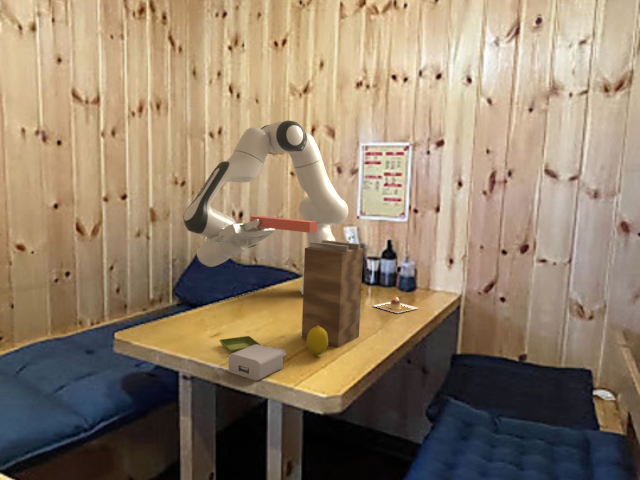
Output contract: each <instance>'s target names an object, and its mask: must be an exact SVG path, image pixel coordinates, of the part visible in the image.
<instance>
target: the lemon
mask: <svg viewBox="0 0 640 480" xmlns="http://www.w3.org/2000/svg"><path fill="white" fill-rule="evenodd" d="M328 346H329V345H328V335H327V332H326V331H325V330H324V329H323V328H321V327H320V326H316V327H314V328H312V329H311V330H310V331H309V333H308V335H307V340H306V347H307V349H308V351H309V352H310V353H312V354H314V356H315V357H318V356H320V355H321V354H323V353H324V352H326V350H327V348H328Z"/></svg>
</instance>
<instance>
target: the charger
mask: <svg viewBox="0 0 640 480" xmlns="http://www.w3.org/2000/svg"><path fill="white" fill-rule="evenodd" d="M286 351H287V349H286V348H284V349H283V348H281V347H276V346H272V347H268V346H265V345H262V344H261V345H258V344H255V345H252V346H250V347H247V348H245V349H242V350H240V351H237V352H235V353H232V354H231V353H230V354H229V355H228V371H229V373H232V374H235V375H237V376H241V377H245V378H246V379H251V380H254V381H261V380H262V379H264V378H265V377H268V376H270V375H272V374H274V373H275V372H279V370H282V369H283V366H284V357H287V352H286Z"/></svg>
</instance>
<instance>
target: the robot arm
mask: <svg viewBox="0 0 640 480" xmlns="http://www.w3.org/2000/svg"><path fill="white" fill-rule="evenodd" d="M235 145H236V146H235V148H234V150H233V152H232V154H231V156H230V157H229V158H228V159H227V160H226V161H221V162H220V163H218V165H216V166H215V168H214V169H213V171H212V172H211V173H210V175H209V176H208V178H207V180H206V181H205V183H204V185H203V186H202V188H201V189H200V191H199V192H198V193H197V195H196V197H195V198H194V200H193V201H192V202H191V203H190V204H189V205H188V206H187V208H186V209H185V212H184V214H183V218H182V219H183V223H184V226H185V228H186V230H187V231H189V232H192V233H194V234H197V235H201V236H203V237H205V238H206V240H205V241H204V243H203V244H202V245H201V246H199V248H198V249H197V251H196V257H197V259H198V261H199V262H200V263H201V264H202V265H204V266H206V267H210V268H212V267H216V266H219V265H220V264H223V263H225V262H226V261H229V260H230V258H231V257H235V256H237V255H239V254H240V253H241V252H244V251H245V250H247V249H250V248H253V247H256V246H258V245H259V244H260V243H259V242H261V241H264V240H265V239H266V238H268V237H269V236H270V235H271V236H272V234H273V233H275V230H276V229H272V228H263V227H256V226H259V225H261V224H262V222H261V220H260V219H255V220H254V221H251V222H250V221H248V222H241V223H237V222H236V220H235V218H233V217H231V216H229V215H227V214H225V213H223V212H222V211H219V210H217V209H215V208H213V207H212V206H211V204H212V203H213V201H214V199H215V197H216V196H217V194H218V193H219V191H220V190H221V188H222V187H223V185H225V184H226V183H229V182H232V183H250V182H252V181H255V179H257V178H258V176H259V175H260V173H261V172H262V168H263V166H264V163H265V161H266V158H267V156H268V154H269V155H271V154H272V155H273V154H274V155H275V154H277V155H278V154H279V155H280V154H284V153H287V154H288V155H289V156H290V158H291V161H292V166H293V169H294V172H295V174H296V177H297V181H298V183H299V186H300V188H301V189H302V190H303V191H304V192H305V193H306V194H307V196H306V197H304V198H302V200H301V201H300V202H299V205H298V213H299V215H300V217H301V218H302V220H307V221H317V232H311V233H308V232H305V233H306V242H307V245H306V246H307V247H306V248H308V247H309V242H318V243H322V240H329V241H336V238H335V236H334V235H333V233H332V230H331V226H337V225H341V224H343V223H345V221H346V220H347V218H348V216H349V206H348V204H347V202H346V201H345V200H344V199H342V197H340V195H339V194H338V192H337V191H336V189H335V187H334V186H333V184H332V182H331V180H330V179H329V176H328V173H327V171H326V166H325V164H324V161H323V157H322V154H321V152H320V149H319V147H318V144H317V143H316V141H315V138H314V136H312V134H310V133H306V131H305V130H304V128H303V127H302V126H301V125H300V123H298V122H296V121H294V120H284V121H283V120H282V121H276V122H273V123H271V124H266V125H264V126H262V127H260V128H259V127H249V128H247V129H246V130H245V131H244V132H243V134H242V135H241V137H239V140H238V142H237V144H235ZM302 274H303V275H302V280H301V281H302V282H301V287H299V292H300V293H301V295H302V296H303V285H304V272H303V273H302Z"/></svg>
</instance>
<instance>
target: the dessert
mask: <svg viewBox="0 0 640 480" xmlns="http://www.w3.org/2000/svg"><path fill="white" fill-rule="evenodd" d="M385 304H390V305H388V306H389V307H388V309H386V308H383V307H382V306H381V305H385ZM401 305H402V306H401ZM377 306H381V307H377ZM404 306H405V308H407V307H408V309H406V310H402V307H404ZM372 307H374V308H376V307H377V308H376V309H379V308H380V309H379V310H383V311H386V310H387V311H386V312H389V311H390V313H393V312H394V314H396V313H397V314H401V313H407V312H410V311H415V310H418V309H419V307H417V306H412V305H410V304H406V303H402V302H401V301H400V299H399V297H397V296H395V298H393V299H392V300H391V301H388V302H383V303H377V304H373V305H372ZM389 308H391V309H390V310H389ZM393 309H395V311H394V310H393ZM400 309H401V310H402V311H401V310H400ZM406 311H407V312H406ZM397 314H396V315H397Z"/></svg>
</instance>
